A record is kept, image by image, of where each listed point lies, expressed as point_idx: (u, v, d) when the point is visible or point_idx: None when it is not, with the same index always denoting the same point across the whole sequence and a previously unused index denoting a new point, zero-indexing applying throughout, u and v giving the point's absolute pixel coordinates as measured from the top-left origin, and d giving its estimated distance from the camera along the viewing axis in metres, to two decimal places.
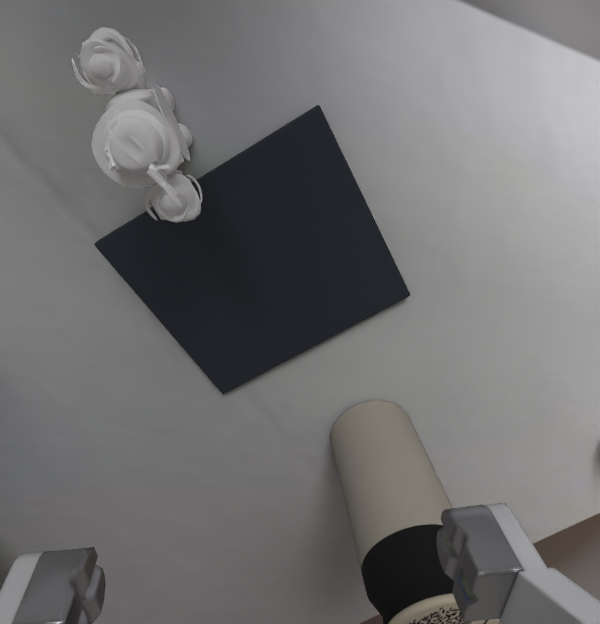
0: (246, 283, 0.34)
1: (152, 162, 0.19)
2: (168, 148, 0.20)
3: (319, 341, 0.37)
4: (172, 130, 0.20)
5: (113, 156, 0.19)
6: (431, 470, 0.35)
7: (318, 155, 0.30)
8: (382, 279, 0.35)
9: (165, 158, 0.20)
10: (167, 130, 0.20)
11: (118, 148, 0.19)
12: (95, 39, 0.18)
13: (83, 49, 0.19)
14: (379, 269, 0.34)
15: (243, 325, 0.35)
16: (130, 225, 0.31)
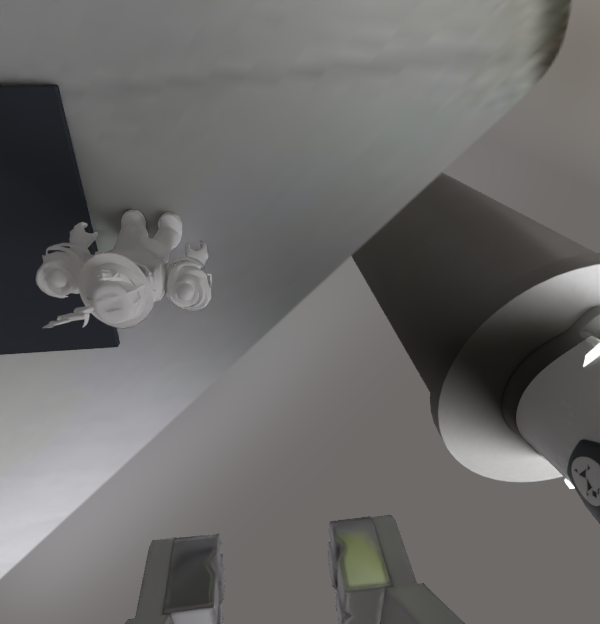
0: None
1: (94, 309, 0.22)
2: None
3: None
4: (117, 326, 0.23)
5: (110, 285, 0.21)
6: None
7: (77, 333, 0.33)
8: None
9: None
10: None
11: (115, 294, 0.21)
12: (202, 300, 0.24)
13: (200, 287, 0.24)
14: None
15: None
16: (64, 140, 0.27)
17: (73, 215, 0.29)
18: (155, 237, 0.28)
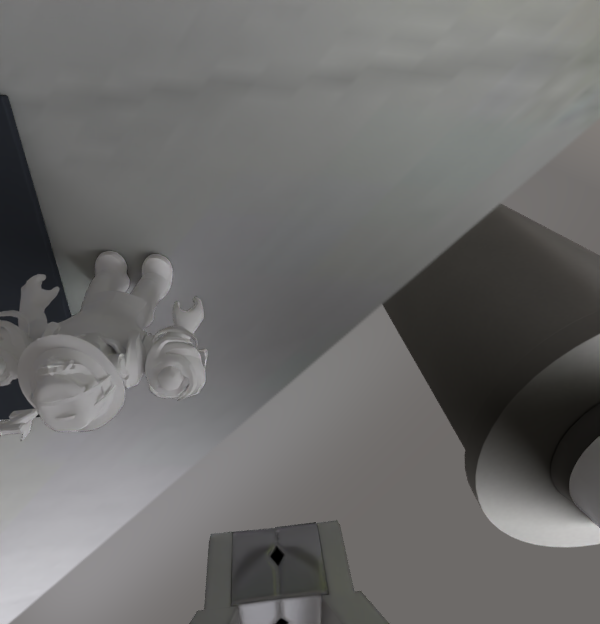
0: None
1: (39, 413, 0.15)
2: None
3: None
4: None
5: (59, 383, 0.15)
6: None
7: None
8: None
9: None
10: None
11: (66, 395, 0.15)
12: (193, 390, 0.17)
13: (191, 372, 0.17)
14: None
15: None
16: (18, 166, 0.21)
17: (33, 259, 0.23)
18: (135, 291, 0.21)
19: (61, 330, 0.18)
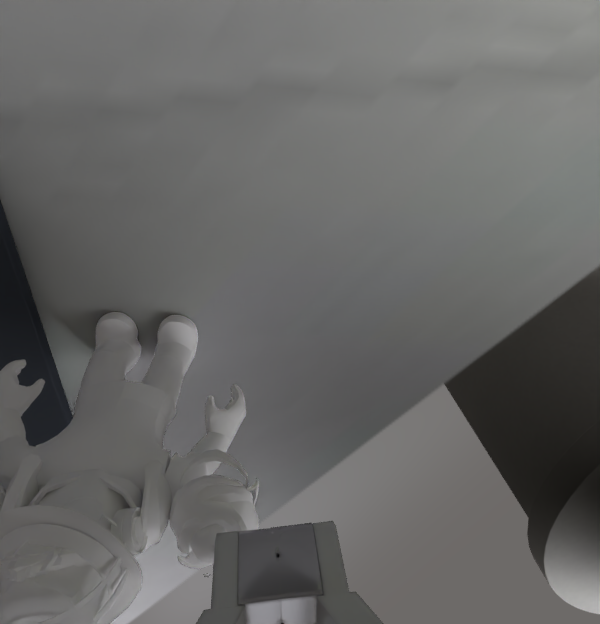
0: None
1: None
2: None
3: None
4: None
5: (35, 596, 0.09)
6: None
7: None
8: None
9: None
10: None
11: (47, 614, 0.09)
12: None
13: None
14: None
15: None
16: None
17: (11, 327, 0.17)
18: (151, 376, 0.15)
19: (44, 461, 0.12)
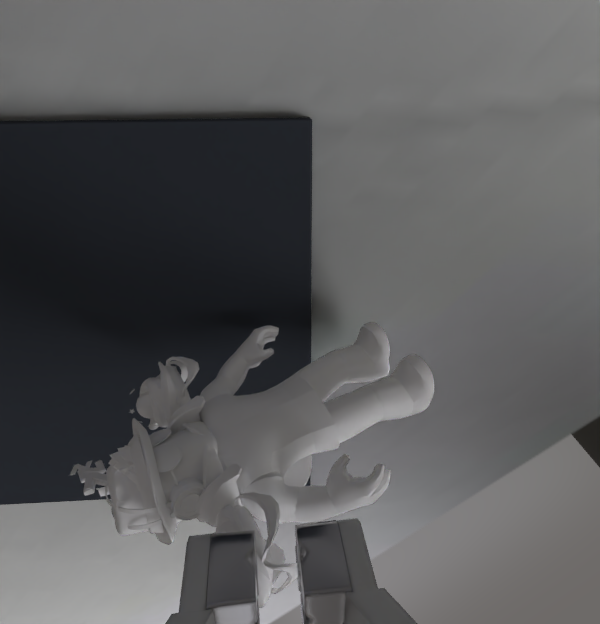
0: (112, 317, 0.18)
1: None
2: None
3: None
4: None
5: (109, 481, 0.13)
6: None
7: None
8: (42, 482, 0.22)
9: None
10: None
11: None
12: None
13: None
14: (60, 484, 0.22)
15: (22, 270, 0.17)
16: (306, 205, 0.17)
17: (291, 316, 0.19)
18: (338, 400, 0.15)
19: (212, 407, 0.15)
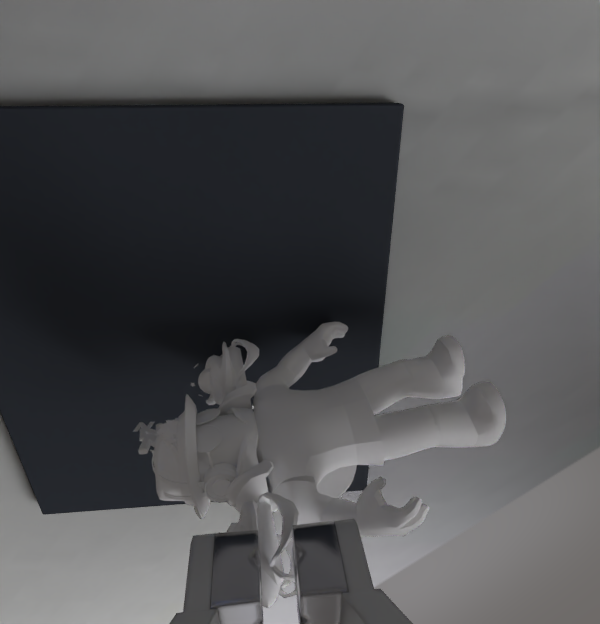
0: (177, 316, 0.17)
1: None
2: None
3: None
4: None
5: (155, 448, 0.14)
6: None
7: None
8: (90, 490, 0.21)
9: None
10: None
11: None
12: None
13: None
14: (109, 491, 0.21)
15: (84, 267, 0.16)
16: (390, 197, 0.16)
17: (364, 313, 0.18)
18: (391, 415, 0.14)
19: (263, 396, 0.15)
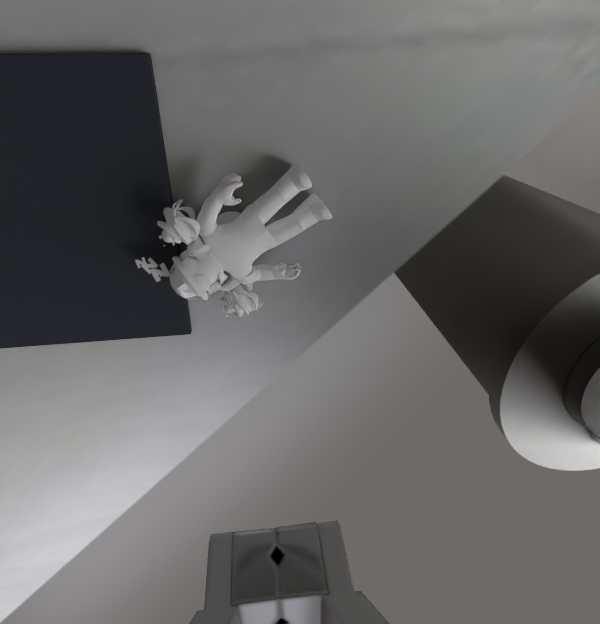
0: (31, 195, 0.27)
1: (170, 275, 0.29)
2: None
3: None
4: None
5: (178, 292, 0.28)
6: None
7: (150, 319, 0.32)
8: None
9: None
10: None
11: (179, 293, 0.29)
12: (235, 314, 0.31)
13: (238, 316, 0.31)
14: (4, 332, 0.31)
15: None
16: (154, 113, 0.26)
17: (156, 194, 0.28)
18: (280, 232, 0.28)
19: (212, 243, 0.28)
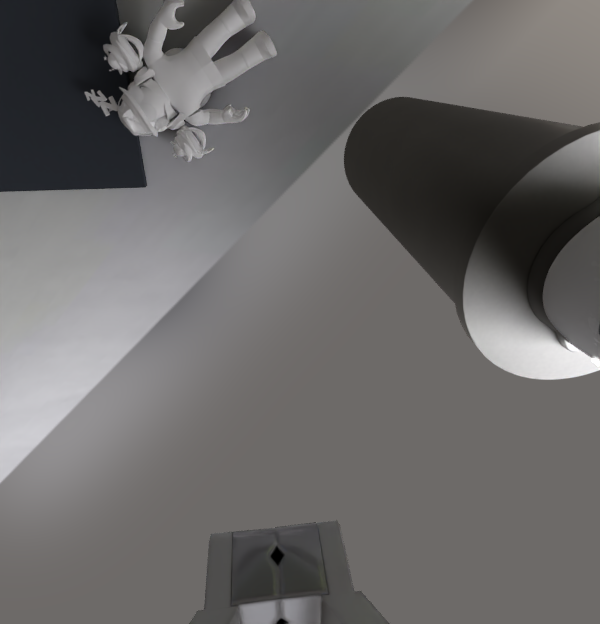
0: None
1: None
2: None
3: None
4: None
5: (125, 122, 0.29)
6: None
7: (104, 168, 0.33)
8: None
9: None
10: None
11: (127, 126, 0.29)
12: None
13: (188, 159, 0.31)
14: None
15: None
16: None
17: (104, 24, 0.29)
18: (225, 66, 0.29)
19: (157, 71, 0.28)
